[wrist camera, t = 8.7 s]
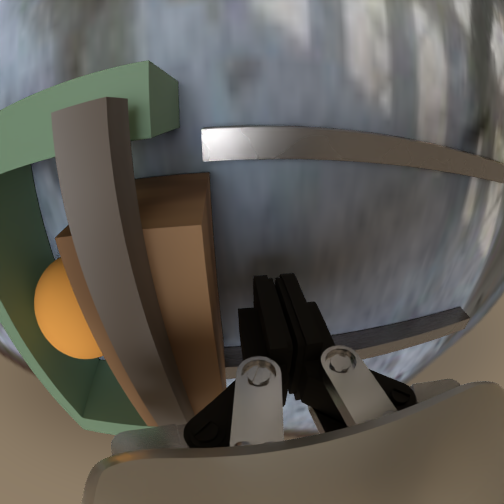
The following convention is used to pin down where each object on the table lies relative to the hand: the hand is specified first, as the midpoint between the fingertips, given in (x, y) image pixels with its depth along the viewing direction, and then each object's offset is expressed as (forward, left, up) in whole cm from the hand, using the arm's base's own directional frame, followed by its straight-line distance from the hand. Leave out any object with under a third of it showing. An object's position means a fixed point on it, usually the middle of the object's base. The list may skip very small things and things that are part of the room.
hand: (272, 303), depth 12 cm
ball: (+9, 0, 0) cm, 9 cm away
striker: (+4, 0, -3) cm, 5 cm away
